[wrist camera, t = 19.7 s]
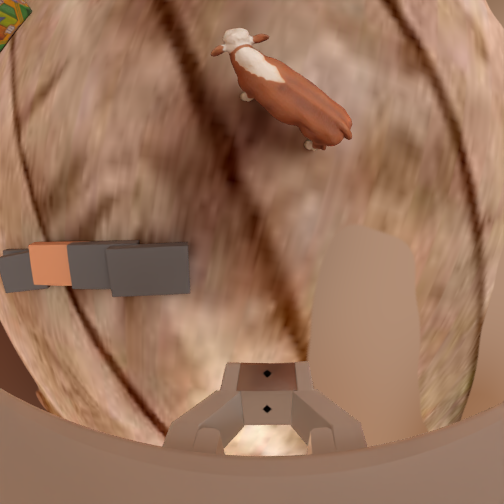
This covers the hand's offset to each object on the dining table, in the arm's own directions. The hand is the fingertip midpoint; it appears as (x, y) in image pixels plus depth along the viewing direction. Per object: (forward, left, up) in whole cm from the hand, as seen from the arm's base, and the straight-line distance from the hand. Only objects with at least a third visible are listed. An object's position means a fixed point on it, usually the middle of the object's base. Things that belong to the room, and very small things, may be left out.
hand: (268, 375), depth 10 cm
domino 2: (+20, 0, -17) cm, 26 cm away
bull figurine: (-2, -15, -18) cm, 24 cm away
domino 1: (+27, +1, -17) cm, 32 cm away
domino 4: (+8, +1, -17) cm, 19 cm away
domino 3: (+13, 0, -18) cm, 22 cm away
